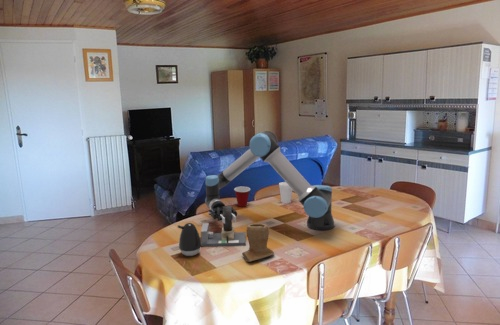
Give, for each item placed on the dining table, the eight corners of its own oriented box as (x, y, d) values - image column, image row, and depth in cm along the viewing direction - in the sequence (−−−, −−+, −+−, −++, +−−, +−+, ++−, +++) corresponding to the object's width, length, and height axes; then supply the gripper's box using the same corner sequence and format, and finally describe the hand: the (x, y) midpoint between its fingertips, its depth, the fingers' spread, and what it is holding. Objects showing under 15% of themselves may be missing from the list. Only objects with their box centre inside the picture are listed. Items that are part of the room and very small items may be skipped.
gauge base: (245, 234, 199) (245, 221, 197) (245, 245, 185) (245, 231, 184) (203, 236, 198) (203, 222, 197) (201, 246, 184) (200, 232, 183)
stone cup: (262, 248, 182) (262, 218, 179) (277, 256, 172) (277, 225, 169) (235, 256, 173) (234, 225, 171) (249, 265, 164) (249, 232, 161)
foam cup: (292, 204, 251) (292, 185, 249) (278, 203, 253) (278, 185, 251) (293, 200, 260) (293, 182, 258) (280, 199, 262) (280, 181, 260)
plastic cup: (238, 209, 243) (238, 191, 241) (231, 205, 252) (231, 187, 250) (253, 206, 248) (253, 189, 245) (246, 202, 257) (245, 185, 255)
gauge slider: (234, 234, 195) (233, 204, 192) (233, 243, 184) (232, 211, 181) (222, 234, 195) (221, 204, 192) (221, 243, 183) (220, 212, 180)
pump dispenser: (180, 250, 181) (178, 220, 178) (201, 248, 182) (200, 219, 179) (177, 259, 171) (176, 227, 168) (200, 257, 172) (199, 226, 169)
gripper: (233, 211, 210) (247, 224, 188) (201, 216, 204) (212, 230, 182) (232, 198, 208) (246, 210, 187) (201, 202, 202) (211, 215, 181)
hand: (229, 220), depth 184 cm, fingers open, 5 cm apart
